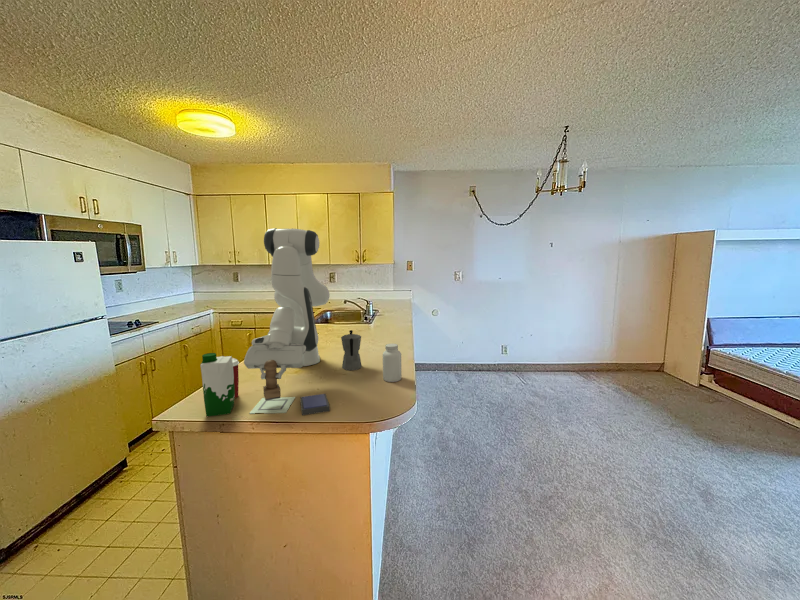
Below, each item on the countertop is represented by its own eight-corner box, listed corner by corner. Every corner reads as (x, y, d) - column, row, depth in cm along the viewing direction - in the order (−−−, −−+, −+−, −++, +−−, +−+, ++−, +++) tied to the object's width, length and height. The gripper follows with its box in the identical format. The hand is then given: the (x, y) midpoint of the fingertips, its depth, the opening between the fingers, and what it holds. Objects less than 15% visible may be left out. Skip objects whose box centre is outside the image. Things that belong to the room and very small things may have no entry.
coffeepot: (342, 363, 162) (341, 327, 160) (361, 362, 163) (360, 327, 161) (341, 374, 147) (340, 335, 145) (362, 373, 148) (362, 334, 146)
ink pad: (300, 401, 119) (300, 396, 119) (325, 398, 122) (325, 392, 122) (302, 415, 109) (301, 409, 108) (329, 411, 112) (329, 405, 111)
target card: (262, 398, 122) (262, 397, 122) (295, 397, 122) (295, 396, 122) (249, 413, 110) (249, 412, 110) (285, 412, 111) (285, 411, 111)
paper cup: (237, 391, 129) (234, 356, 127) (244, 397, 123) (242, 361, 121) (215, 397, 123) (212, 361, 122) (221, 403, 118) (218, 365, 116)
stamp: (263, 395, 116) (262, 358, 114) (278, 392, 118) (277, 356, 117) (265, 400, 112) (263, 362, 110) (280, 398, 114) (279, 360, 112)
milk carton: (209, 407, 115) (204, 351, 113) (237, 403, 118) (233, 349, 115) (202, 418, 107) (197, 359, 104) (232, 414, 109) (228, 356, 107)
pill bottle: (379, 379, 141) (378, 345, 139) (392, 374, 147) (391, 341, 145) (392, 384, 135) (392, 348, 133) (405, 378, 141) (405, 344, 139)
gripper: (308, 347, 125) (303, 381, 117) (253, 348, 124) (243, 383, 115) (305, 339, 120) (299, 373, 112) (247, 339, 119) (237, 375, 111)
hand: (270, 378), depth 114 cm, fingers closed on stamp, 4 cm apart
